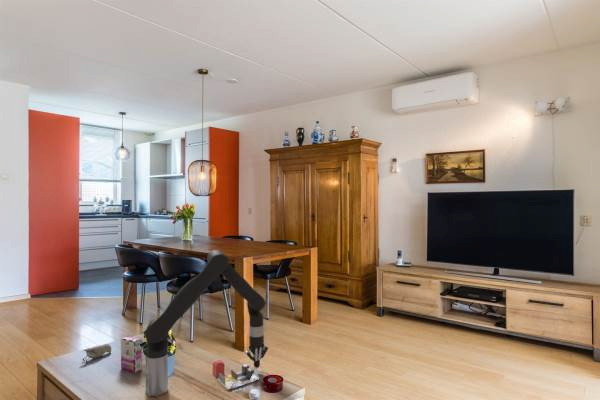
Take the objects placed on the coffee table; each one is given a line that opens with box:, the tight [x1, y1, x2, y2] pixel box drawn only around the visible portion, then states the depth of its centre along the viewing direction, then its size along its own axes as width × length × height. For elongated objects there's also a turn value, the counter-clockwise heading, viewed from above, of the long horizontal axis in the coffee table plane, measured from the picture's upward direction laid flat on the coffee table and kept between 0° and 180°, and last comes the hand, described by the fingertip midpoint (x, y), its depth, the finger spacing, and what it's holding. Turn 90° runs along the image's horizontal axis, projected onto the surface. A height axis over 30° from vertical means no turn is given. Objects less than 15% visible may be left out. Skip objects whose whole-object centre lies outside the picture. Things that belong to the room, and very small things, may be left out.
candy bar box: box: [120, 335, 143, 373], centre depth 199 cm, size 11×5×16 cm, turn 62°
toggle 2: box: [247, 367, 255, 379], centre depth 186 cm, size 2×3×4 cm
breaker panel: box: [217, 369, 250, 392], centre depth 186 cm, size 17×12×4 cm
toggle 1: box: [241, 363, 250, 375], centre depth 191 cm, size 2×3×4 cm
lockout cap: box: [212, 359, 225, 378], centre depth 193 cm, size 4×4×6 cm
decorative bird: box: [82, 343, 112, 363], centre depth 214 cm, size 5×16×8 cm, turn 151°
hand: (256, 367), depth 195 cm, fingers closed
